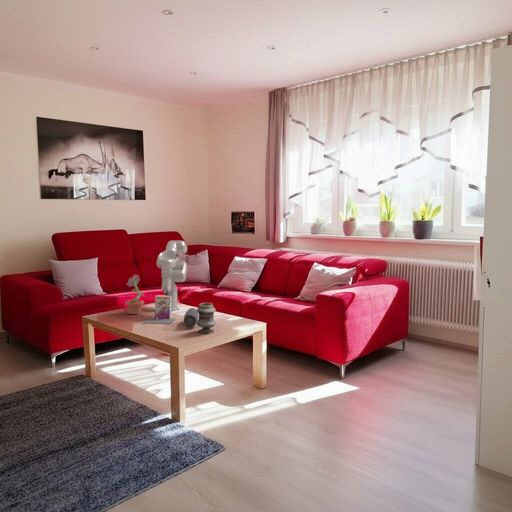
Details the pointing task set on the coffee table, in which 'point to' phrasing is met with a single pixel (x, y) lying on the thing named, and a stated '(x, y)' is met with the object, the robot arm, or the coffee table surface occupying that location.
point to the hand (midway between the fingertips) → (167, 300)
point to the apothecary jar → (206, 317)
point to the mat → (159, 321)
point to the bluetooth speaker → (191, 317)
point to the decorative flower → (135, 304)
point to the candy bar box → (163, 307)
